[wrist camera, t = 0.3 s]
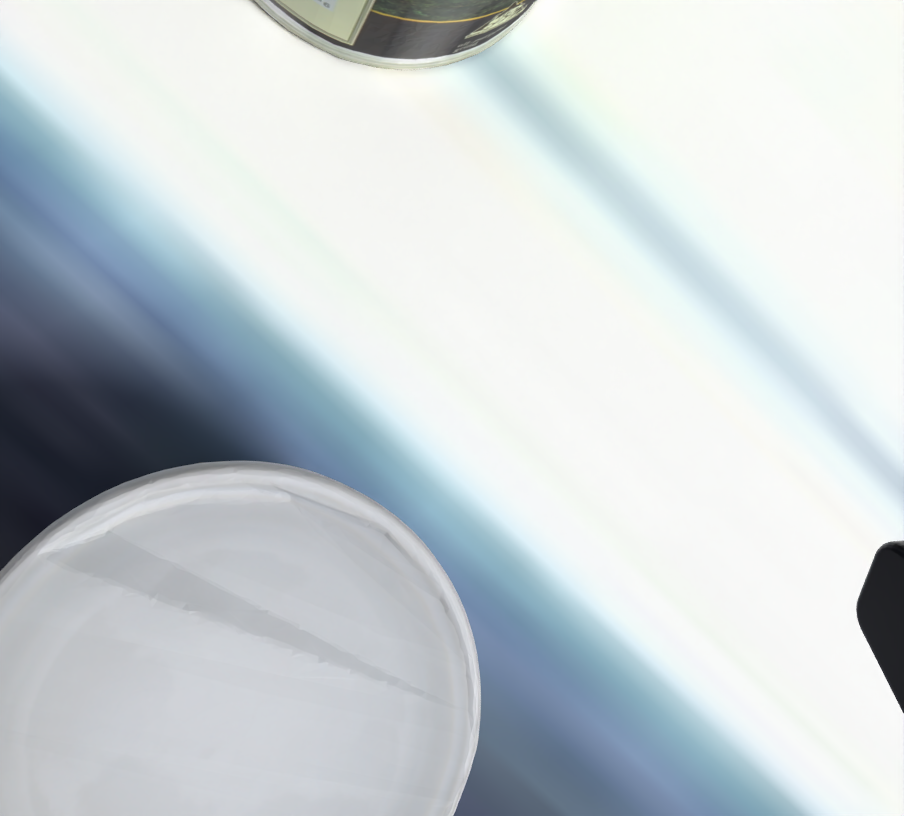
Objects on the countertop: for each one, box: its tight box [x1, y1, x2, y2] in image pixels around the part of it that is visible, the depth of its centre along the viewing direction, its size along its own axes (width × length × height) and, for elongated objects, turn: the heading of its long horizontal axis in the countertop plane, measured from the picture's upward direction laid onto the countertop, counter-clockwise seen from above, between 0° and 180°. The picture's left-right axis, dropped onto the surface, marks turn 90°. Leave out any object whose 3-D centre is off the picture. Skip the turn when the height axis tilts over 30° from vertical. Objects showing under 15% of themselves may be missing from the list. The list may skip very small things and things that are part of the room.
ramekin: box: [0, 461, 481, 816], centre depth 20 cm, size 11×11×5 cm
